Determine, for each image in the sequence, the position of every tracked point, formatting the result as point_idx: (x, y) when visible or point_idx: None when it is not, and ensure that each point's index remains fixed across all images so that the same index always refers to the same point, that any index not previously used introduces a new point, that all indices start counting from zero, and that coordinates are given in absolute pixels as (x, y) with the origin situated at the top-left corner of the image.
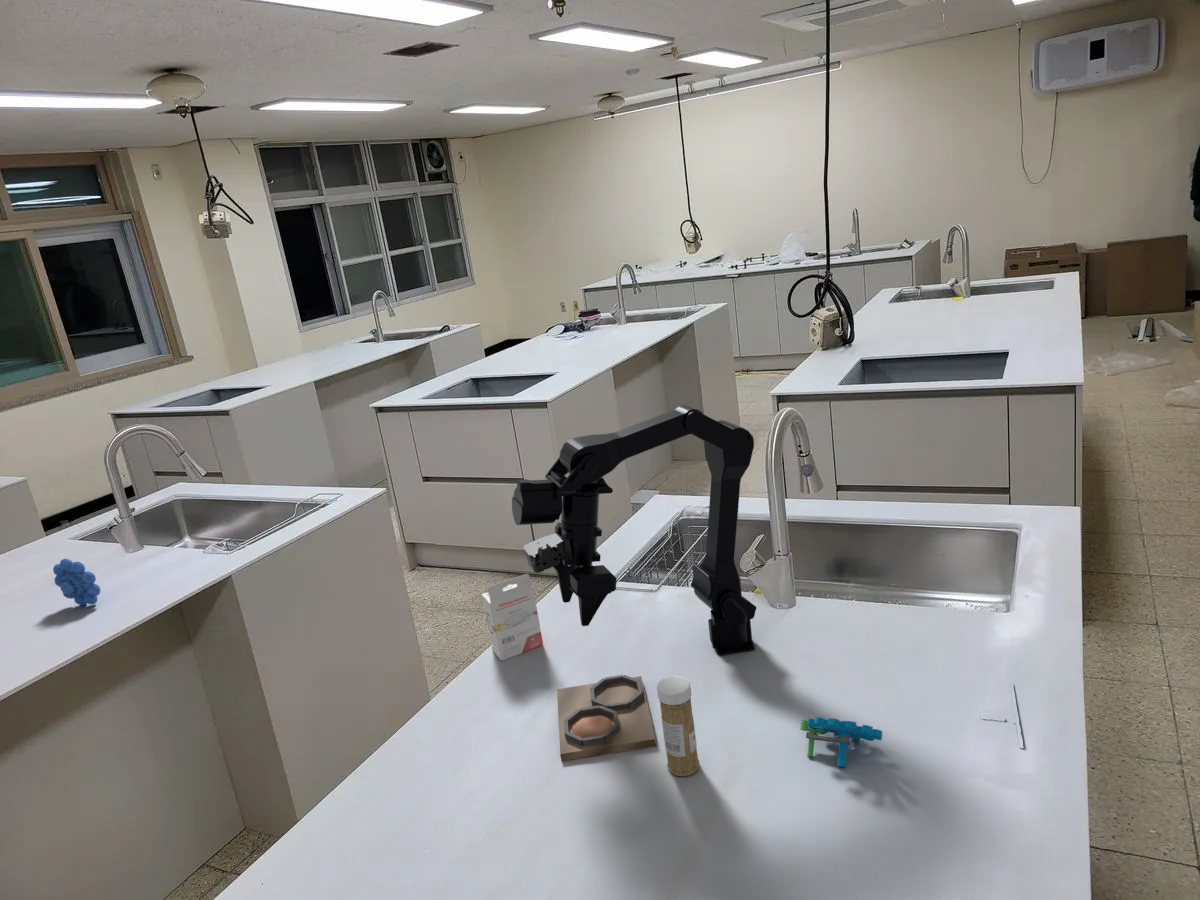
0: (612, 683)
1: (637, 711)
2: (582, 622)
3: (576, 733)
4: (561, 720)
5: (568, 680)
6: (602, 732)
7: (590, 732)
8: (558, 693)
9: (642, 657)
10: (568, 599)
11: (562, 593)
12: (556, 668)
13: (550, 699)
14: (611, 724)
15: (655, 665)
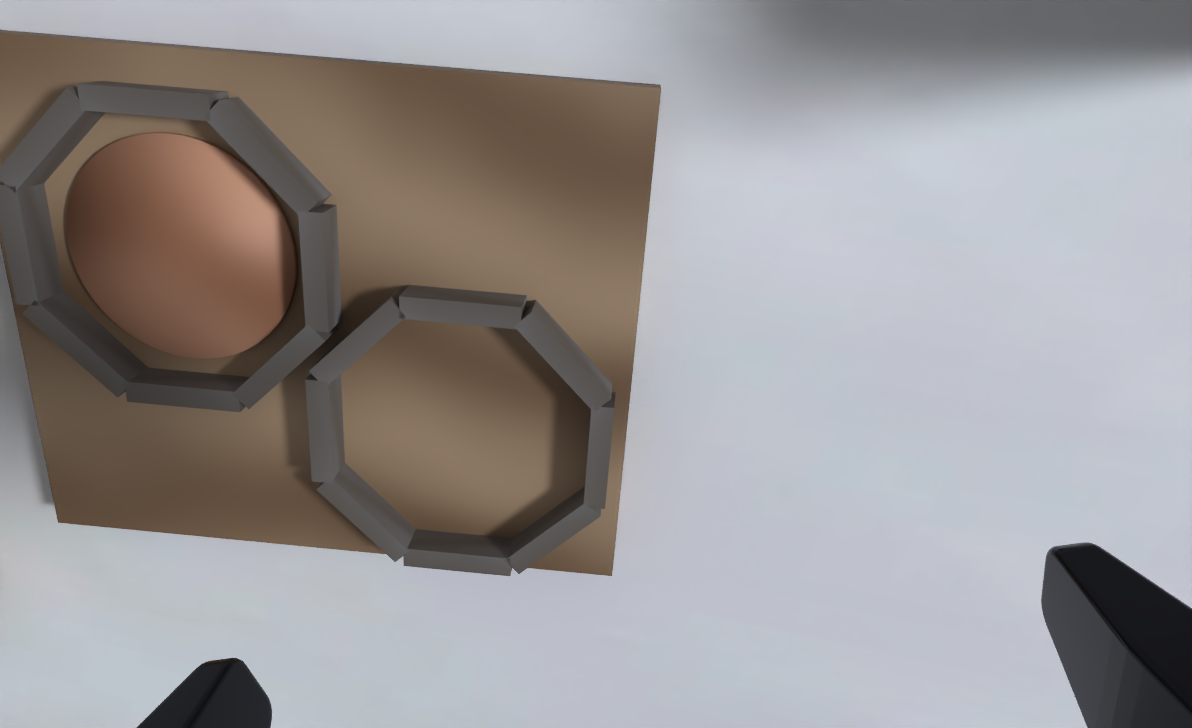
0: (589, 430)
1: (291, 495)
2: (159, 712)
3: (131, 155)
4: (290, 77)
5: (809, 175)
6: (122, 299)
7: (131, 236)
8: (603, 93)
9: (851, 602)
10: (1062, 633)
11: (1144, 663)
12: (1000, 112)
13: (635, 28)
14: (188, 357)
15: (743, 638)
